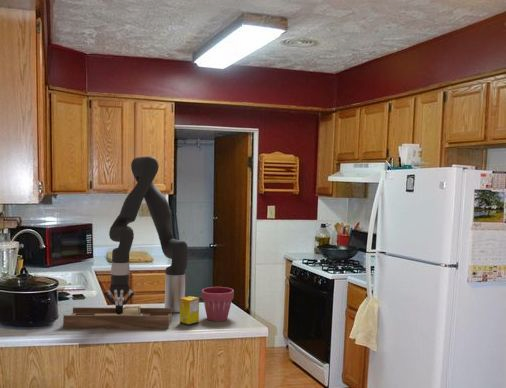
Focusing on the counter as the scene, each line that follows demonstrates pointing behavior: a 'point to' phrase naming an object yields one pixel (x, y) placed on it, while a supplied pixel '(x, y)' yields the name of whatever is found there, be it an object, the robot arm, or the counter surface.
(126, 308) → the maple block
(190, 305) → the supplement box
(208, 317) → the plant pot
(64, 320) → the walnut track
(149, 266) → the counter surface
